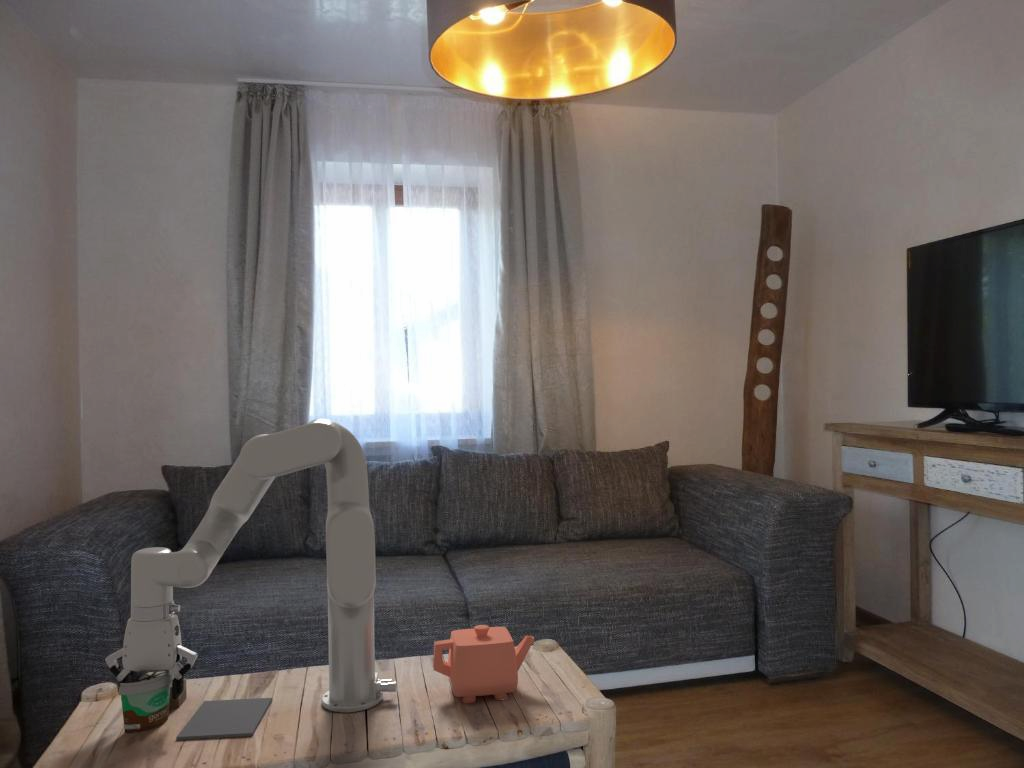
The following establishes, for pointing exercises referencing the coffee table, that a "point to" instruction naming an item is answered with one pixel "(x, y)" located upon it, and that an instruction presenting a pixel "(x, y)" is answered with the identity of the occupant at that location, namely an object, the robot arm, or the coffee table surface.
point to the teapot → (481, 661)
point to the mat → (226, 719)
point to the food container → (146, 701)
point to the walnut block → (180, 699)
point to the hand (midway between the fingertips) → (151, 697)
